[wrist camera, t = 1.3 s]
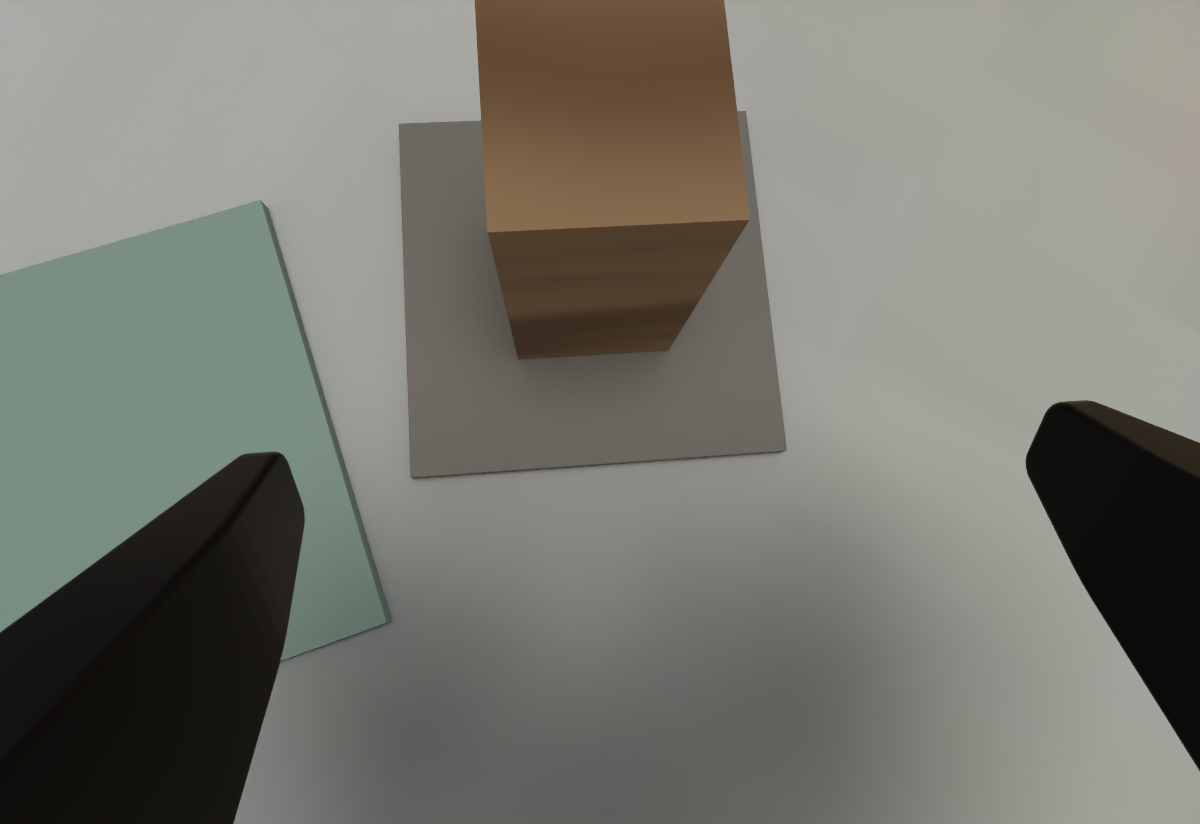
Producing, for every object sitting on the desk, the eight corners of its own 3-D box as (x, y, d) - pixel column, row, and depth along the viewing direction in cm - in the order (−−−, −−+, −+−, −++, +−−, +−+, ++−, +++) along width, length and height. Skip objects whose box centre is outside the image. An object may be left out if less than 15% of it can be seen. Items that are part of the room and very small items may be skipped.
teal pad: (390, 620, 20) (386, 622, 19) (-94, 795, 18) (-112, 802, 18) (267, 207, 21) (260, 200, 21) (-183, 338, 20) (-202, 333, 19)
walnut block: (668, 350, 21) (750, 219, 12) (518, 359, 21) (487, 232, 12) (655, 209, 22) (722, -12, 13) (509, 216, 21) (474, -6, 12)
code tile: (782, 451, 21) (787, 450, 21) (413, 478, 20) (410, 477, 20) (742, 118, 23) (746, 109, 22) (401, 131, 22) (398, 122, 22)
